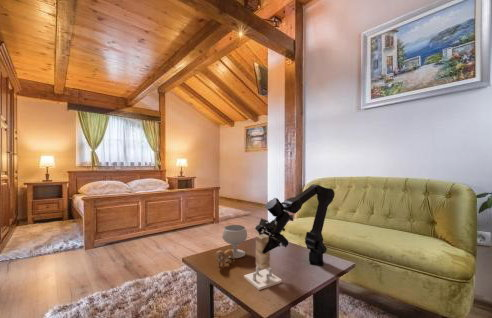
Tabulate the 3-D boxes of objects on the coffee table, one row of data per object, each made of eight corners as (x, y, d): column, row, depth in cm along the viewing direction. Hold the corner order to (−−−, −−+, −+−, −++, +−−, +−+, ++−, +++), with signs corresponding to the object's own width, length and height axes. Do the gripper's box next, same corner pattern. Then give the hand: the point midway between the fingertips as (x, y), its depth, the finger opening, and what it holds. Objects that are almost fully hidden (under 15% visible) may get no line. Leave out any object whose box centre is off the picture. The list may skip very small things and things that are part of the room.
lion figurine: (222, 271, 111) (222, 252, 111) (212, 269, 113) (212, 250, 113) (237, 260, 124) (237, 243, 124) (228, 258, 127) (228, 241, 127)
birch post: (263, 262, 107) (263, 233, 107) (269, 266, 103) (269, 236, 103) (255, 264, 104) (255, 235, 104) (261, 268, 100) (261, 238, 100)
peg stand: (265, 271, 112) (265, 262, 112) (281, 282, 101) (281, 273, 101) (244, 277, 106) (244, 268, 106) (258, 290, 95) (258, 280, 95)
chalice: (247, 259, 124) (247, 231, 124) (220, 259, 125) (220, 231, 125) (247, 249, 138) (247, 224, 138) (223, 249, 139) (223, 224, 139)
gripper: (258, 208, 114) (238, 234, 108) (282, 216, 98) (261, 247, 92) (271, 222, 118) (252, 248, 112) (297, 231, 102) (277, 263, 96)
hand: (260, 251), depth 103 cm, fingers closed on birch post, 4 cm apart
